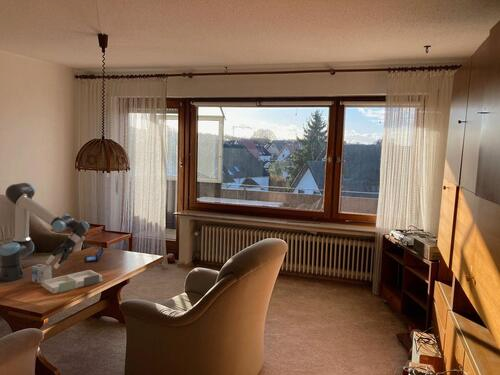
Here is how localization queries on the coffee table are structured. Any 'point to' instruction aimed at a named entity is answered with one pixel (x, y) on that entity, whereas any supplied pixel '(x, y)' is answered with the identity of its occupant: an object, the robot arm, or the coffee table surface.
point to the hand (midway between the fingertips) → (50, 265)
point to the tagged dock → (72, 281)
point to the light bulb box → (41, 273)
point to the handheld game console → (95, 257)
